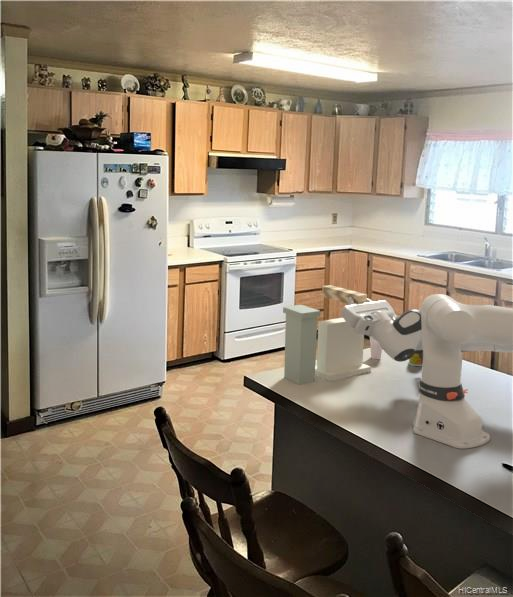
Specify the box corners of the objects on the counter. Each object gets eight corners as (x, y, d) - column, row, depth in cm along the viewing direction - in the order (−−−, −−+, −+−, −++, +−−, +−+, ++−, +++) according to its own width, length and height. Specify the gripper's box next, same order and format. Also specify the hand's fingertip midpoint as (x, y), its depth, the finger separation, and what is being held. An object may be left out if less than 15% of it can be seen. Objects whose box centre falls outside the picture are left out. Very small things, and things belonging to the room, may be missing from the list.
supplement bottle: (407, 364, 248) (408, 340, 246) (410, 361, 253) (412, 337, 251) (421, 367, 246) (423, 342, 244) (424, 363, 251) (426, 339, 249)
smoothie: (385, 360, 254) (387, 326, 251) (369, 360, 254) (370, 325, 251) (382, 355, 260) (384, 322, 257) (366, 355, 260) (368, 321, 257)
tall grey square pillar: (317, 381, 228) (320, 310, 222) (299, 385, 223) (301, 313, 218) (299, 373, 237) (301, 304, 231) (281, 376, 232) (283, 307, 227)
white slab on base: (370, 371, 239) (373, 320, 235) (329, 381, 229) (331, 326, 224) (349, 363, 249) (351, 313, 245) (308, 371, 238) (310, 319, 234)
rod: (366, 305, 226) (367, 294, 225) (358, 306, 224) (358, 295, 223) (330, 295, 242) (330, 285, 241) (322, 296, 240) (322, 286, 239)
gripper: (403, 313, 223) (380, 288, 231) (359, 320, 212) (336, 293, 220) (396, 326, 226) (373, 301, 235) (352, 334, 215) (330, 307, 224)
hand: (355, 297), depth 227 cm, fingers closed on rod, 4 cm apart
